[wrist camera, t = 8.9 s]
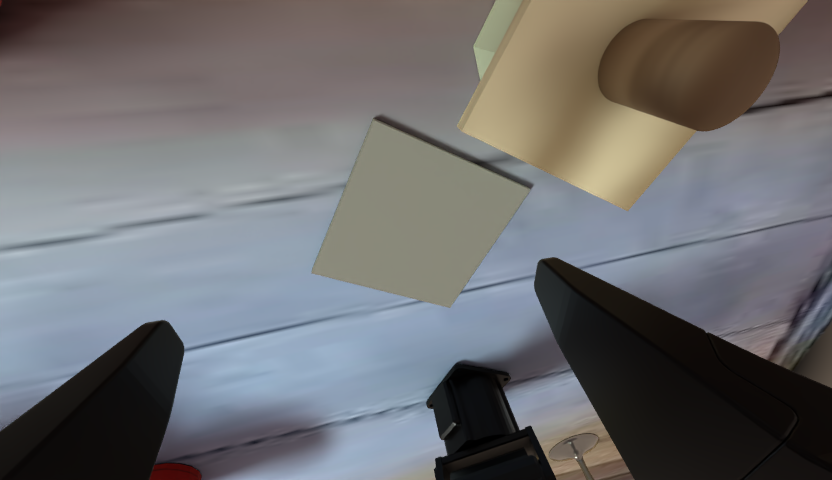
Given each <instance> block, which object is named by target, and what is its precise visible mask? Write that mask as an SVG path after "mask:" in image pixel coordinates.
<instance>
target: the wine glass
mask: <svg viewBox="0 0 832 480" xmlns="http://www.w3.org/2000/svg"><path fill="white" fill-rule="evenodd" d="M598 442H599V438H598V436H596V435H594V434H580V435H576V436H572V437H570V438H567V439H565V440H563V441H561V442H560V443H558V444H557V445H555V446H554V447H553V448H552V449H551V451H550V452H549V458H550V459H551V460H553V461H568V460H572V459H575V460H576V461H577V462H578V464H579V465H580V467H581V469H582V471H583V473H584V475H585V478H586V480H594V478H593V477H592V475H591V473H590V472H589V470H588V468H587V466H586V464H585V462H584V460H583V455H585V454H587V453H588V452H590V451H591V450H592V449H594V448H595V447H596V445H597V444H598Z"/></svg>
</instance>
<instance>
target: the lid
mask: <svg viewBox="0 0 832 480" xmlns="http://www.w3.org/2000/svg"><path fill="white" fill-rule="evenodd" d="M807 1H808V0H523V1H522V3H521V4H520V6H519V8H518V10H517V12H516V14H515V16H514V18H513V20H512V22H511V24H510V25H509V27H508V29H507V31H506V33H505V35H504V37H503V39H502V41H501V43H500V45H499V47H498V48H497V50H496V52H495V54H494V56H493V58H492V60H491V62H490V64H489V66H488V68H487V69H486V71H485V73H484V75H483V77H482V79H481V81H480V83H479V85H478V87H477V89H476V90H475V92H474V94H473V96H472V98H471V100H470V102H469V104H468V106H467V108H466V110H465V111H464V113H463V115H462V117H461V119H460V121H459V123H458V125H457V127H458V128H459V129H460V130H461V131H462V132H464V133H466V134H468V135H470V136H472V137H475V138H477V139H479V140H481V141H483V142H485V143H487V144H489V145H491V146H493V147H495V148H497V149H500V150H502V151H504V152H506V153H508V154H510V155H512V156H514V157H516V158H518V159H520V160H522V161H524V162H527V163H529V164H531V165H533V166H535V167H537V168H539V169H541V170H543V171H545V172H547V173H549V174H552V175H554V176H556V177H558V178H560V179H562V180H564V181H566V182H568V183H570V184H572V185H574V186H577V187H579V188H581V189H583V190H585V191H587V192H589V193H591V194H593V195H595V196H597V197H599V198H601V199H604V200H606V201H608V202H610V203H612V204H614V205H616V206H618V207H620V208H622V209H624V210H626V211H628V210H629V209H630V208H631V207H632V205H633V204H634V203H635V202H636V201H637V200H638V198H639V197H640V196H641V195H642V194H643V193H644V191H645V190H646V189H647V188H648V187H649V186H650V184H651V183H652V182H653V181H654V180H655V179H656V177H657V176H658V175H659V174H660V173H661V172H662V170H663V169H664V168H665V167H666V166H667V165H668V163H669V162H670V161H671V160H672V159H673V158H674V156H675V155H676V154H677V153H678V152H679V151H680V149H681V148H682V147H683V146H684V145H685V144H686V142H687V141H688V140H689V139H690V138H691V137H692V135H693V134H694V133H695V132H696V131H710V130H715V129H718V128H720V127H723V126H725V125H727V124H729V123H730V122H732V121H734V120H735V119H737V118H738V117H739V116H741V115H742V114H743V113H744V112H745V111H746V110H748V109H749V108H750V107H751V106H752V105H753V104H754V103H755V101H756V100H757V99H758V98H759V97H760V95H761V94H762V93H763V91H764V90H765V88H766V87H767V85H768V83H769V82H770V80H771V78H772V76H773V74H774V71H775V69H776V66H777V63H778V58H779V52H780V42H779V38H778V35H779V34H780V33H781V32H782V30H783V29H784V28H785V27H786V26H787V25H788V23H789V22H790V21H791V20H792V19H793V18H794V16H795V15H796V14H797V13H798V12H799V11H800V9H801V8H802V7H803V6H804V5H805V4H806V2H807Z"/></svg>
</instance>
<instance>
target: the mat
mask: <svg viewBox="0 0 832 480" xmlns="http://www.w3.org/2000/svg"><path fill="white" fill-rule="evenodd" d="M529 191H530V189H529V188H528V187H526V186H524V185H522V184H520V183H518V182H515V181H513V180H511V179H509V178H506V177H504V176H502V175H500V174H497V173H495V172H493V171H491V170H488V169H486V168H484V167H482V166H479V165H477V164H475V163H473V162H471V161H468V160H466V159H464V158H462V157H459V156H457V155H455V154H453V153H450V152H448V151H446V150H444V149H441V148H439V147H437V146H435V145H433V144H430V143H428V142H426V141H424V140H421V139H419V138H417V137H415V136H412V135H410V134H408V133H406V132H403V131H401V130H399V129H397V128H394V127H392V126H390V125H388V124H386V123H383V122H381V121H379V120H377V119H374V118H373V120H372V123H371V125H370V128H369V130H368V132H367V135H366V137H365V140H364V142H363V145H362V147H361V150H360V152H359V155H358V157H357V160H356V162H355V165H354V167H353V170H352V172H351V174H350V177H349V179H348V182H347V184H346V187H345V189H344V192H343V194H342V197H341V199H340V202H339V204H338V207H337V209H336V212H335V214H334V216H333V219H332V221H331V224H330V226H329V229H328V231H327V234H326V236H325V239H324V241H323V244H322V246H321V249H320V251H319V254H318V256H317V258H316V261H315V263H314V266H313V268H312V273H313V274H317V275H321V276H325V277H329V278H333V279H337V280H341V281H345V282H349V283H353V284H357V285H361V286H365V287H369V288H373V289H377V290H381V291H385V292H389V293H393V294H397V295H401V296H405V297H409V298H413V299H417V300H421V301H425V302H429V303H433V304H437V305H441V306H445V307H449V308H450V307H451V305H452V304H453V303H454V301H455V300H456V298H457V297H458V295H459V294H460V292H461V291H462V289H463V288H464V286H465V285H466V284H467V282H468V281H469V279H470V278H471V276H472V275H473V273H474V272H475V270H476V269H477V267H478V266H479V265H480V263H481V262H482V260H483V259H484V257H485V256H486V254H487V253H488V251H489V250H490V248H491V247H492V246H493V244H494V243H495V241H496V240H497V238H498V237H499V235H500V234H501V232H502V231H503V229H504V228H505V227H506V225H507V224H508V222H509V221H510V219H511V218H512V216H513V215H514V213H515V212H516V210H517V209H518V208H519V206H520V205H521V203H522V202H523V200H524V199H525V197H526V196H527V194H528V193H529Z"/></svg>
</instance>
